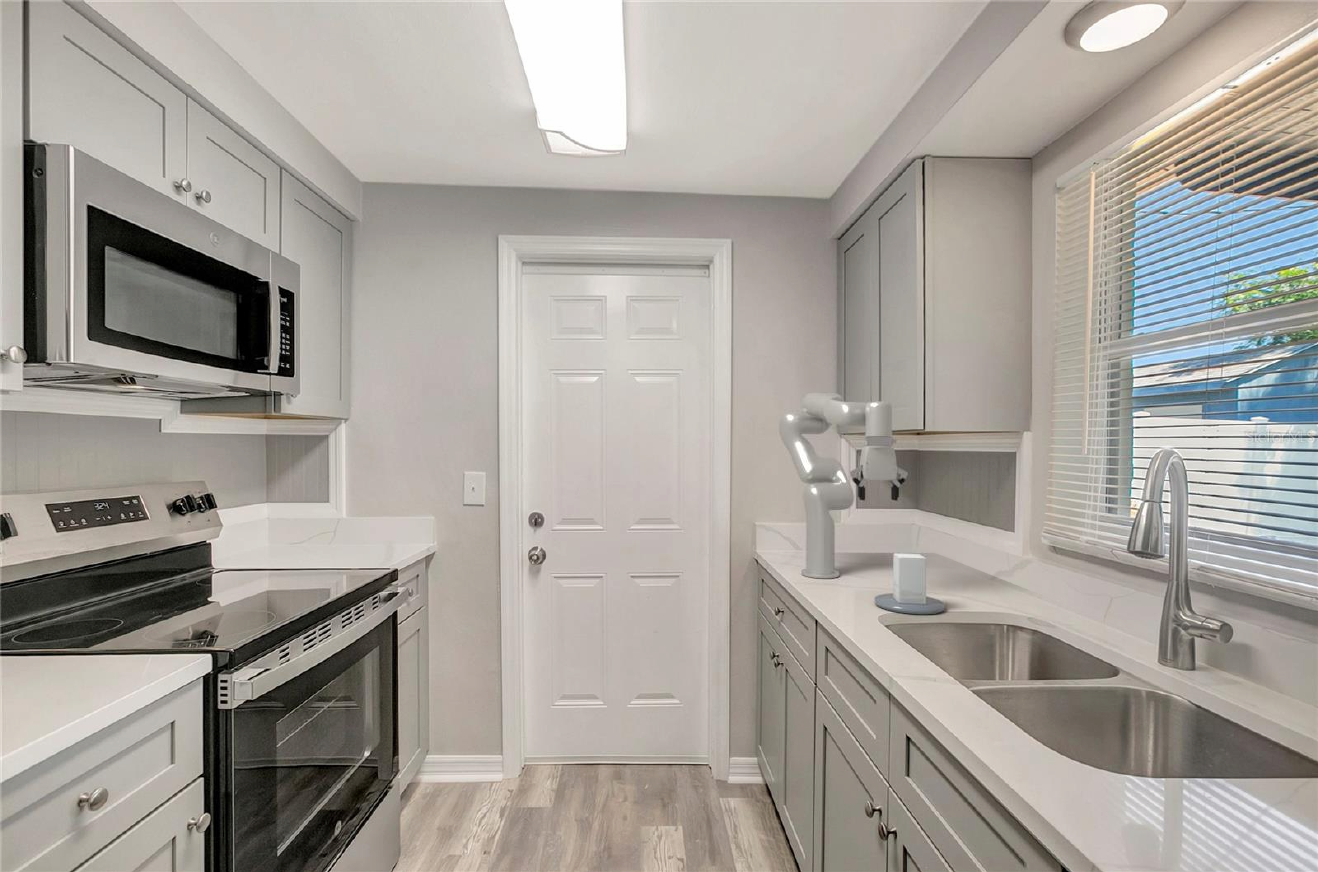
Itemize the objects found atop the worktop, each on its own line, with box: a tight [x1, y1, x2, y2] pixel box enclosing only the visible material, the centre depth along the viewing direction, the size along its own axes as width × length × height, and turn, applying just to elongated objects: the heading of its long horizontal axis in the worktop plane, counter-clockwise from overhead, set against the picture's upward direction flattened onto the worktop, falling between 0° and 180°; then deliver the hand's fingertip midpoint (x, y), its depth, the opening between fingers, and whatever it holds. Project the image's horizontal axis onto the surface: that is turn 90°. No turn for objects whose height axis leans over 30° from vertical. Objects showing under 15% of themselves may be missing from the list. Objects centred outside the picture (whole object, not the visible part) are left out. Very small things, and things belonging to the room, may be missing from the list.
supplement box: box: [892, 552, 927, 604], centre depth 174 cm, size 7×7×13 cm
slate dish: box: [874, 592, 946, 615], centre depth 173 cm, size 18×18×2 cm
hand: (878, 500), depth 187 cm, fingers open, 9 cm apart
